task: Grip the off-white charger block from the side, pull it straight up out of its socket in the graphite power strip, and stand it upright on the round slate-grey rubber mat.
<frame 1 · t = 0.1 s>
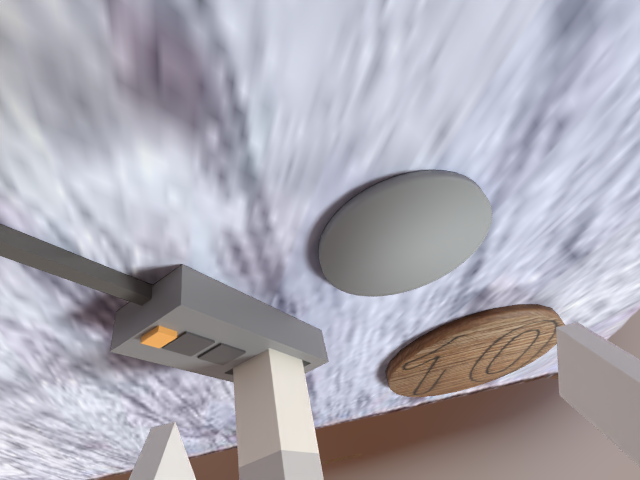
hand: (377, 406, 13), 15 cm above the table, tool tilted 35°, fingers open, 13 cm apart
trivet: (468, 348, 56), on the table
power strip: (232, 322, 36), on the table
charger: (267, 353, 38), point 2 cm above the table, touching power strip
mat: (402, 238, 32), on the table
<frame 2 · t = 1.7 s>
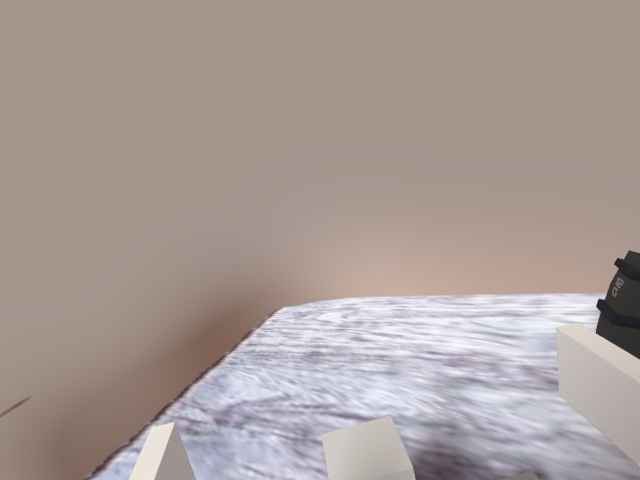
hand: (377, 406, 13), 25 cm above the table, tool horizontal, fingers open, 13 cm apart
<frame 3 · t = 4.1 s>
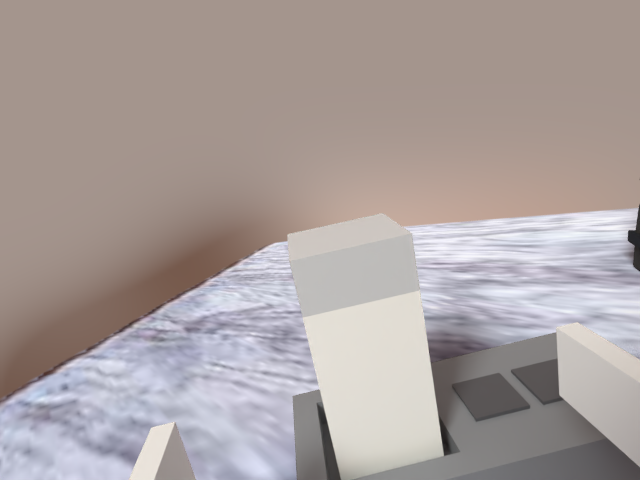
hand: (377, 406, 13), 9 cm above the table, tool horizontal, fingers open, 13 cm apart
power strip: (468, 456, 21), on the table
charger: (383, 447, 21), point 2 cm above the table, touching power strip
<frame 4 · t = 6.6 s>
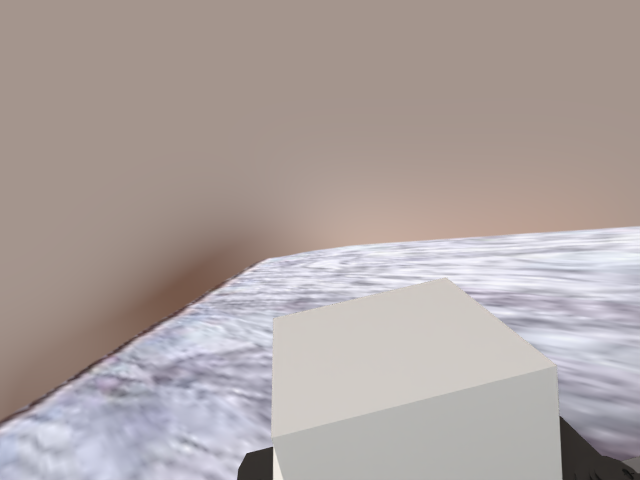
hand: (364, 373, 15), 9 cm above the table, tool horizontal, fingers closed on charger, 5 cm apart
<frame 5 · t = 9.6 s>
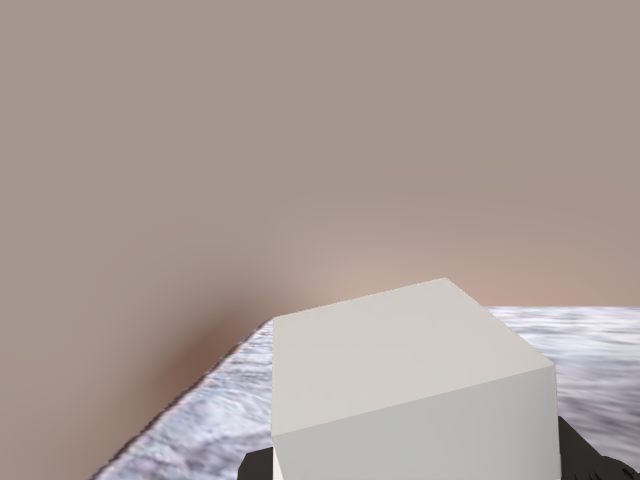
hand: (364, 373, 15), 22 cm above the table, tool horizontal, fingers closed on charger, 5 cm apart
when the fingers open (9 cm above the table, at t = 13.0 s): charger stays where it is, resting on mat.
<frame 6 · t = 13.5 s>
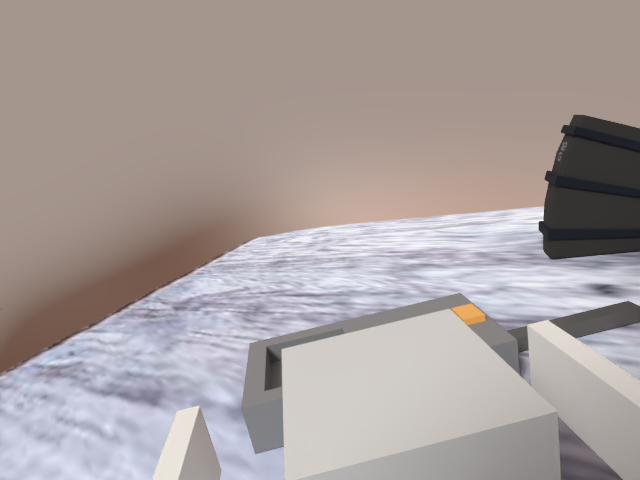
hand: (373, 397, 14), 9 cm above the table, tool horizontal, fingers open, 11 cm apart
magazine: (612, 251, 43), on the table
power strip: (375, 382, 29), on the table
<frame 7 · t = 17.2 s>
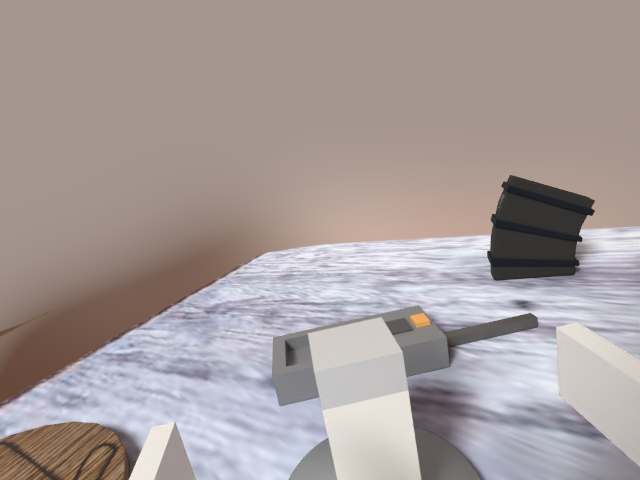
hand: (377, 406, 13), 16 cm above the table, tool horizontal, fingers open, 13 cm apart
magazine: (539, 275, 58), on the table
power strip: (358, 364, 44), on the table
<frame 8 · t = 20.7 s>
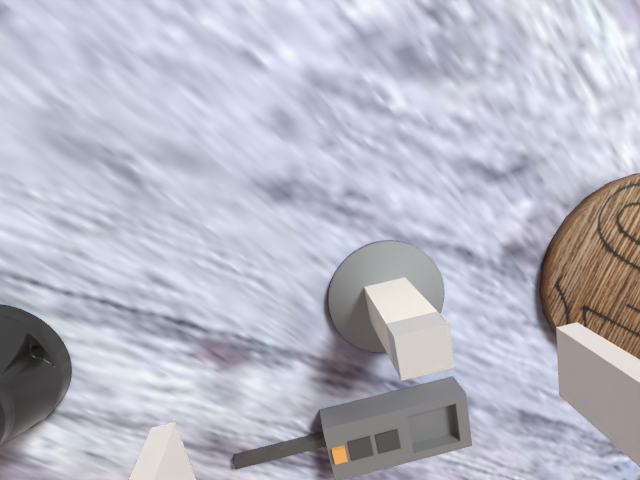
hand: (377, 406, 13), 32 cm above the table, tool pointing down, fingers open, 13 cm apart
trivet: (627, 268, 50), on the table
power strip: (391, 418, 51), on the table
charger: (387, 299, 46), point 1 cm above the table, touching mat
mat: (385, 296, 47), on the table
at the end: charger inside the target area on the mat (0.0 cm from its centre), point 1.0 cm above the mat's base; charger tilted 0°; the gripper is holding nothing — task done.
